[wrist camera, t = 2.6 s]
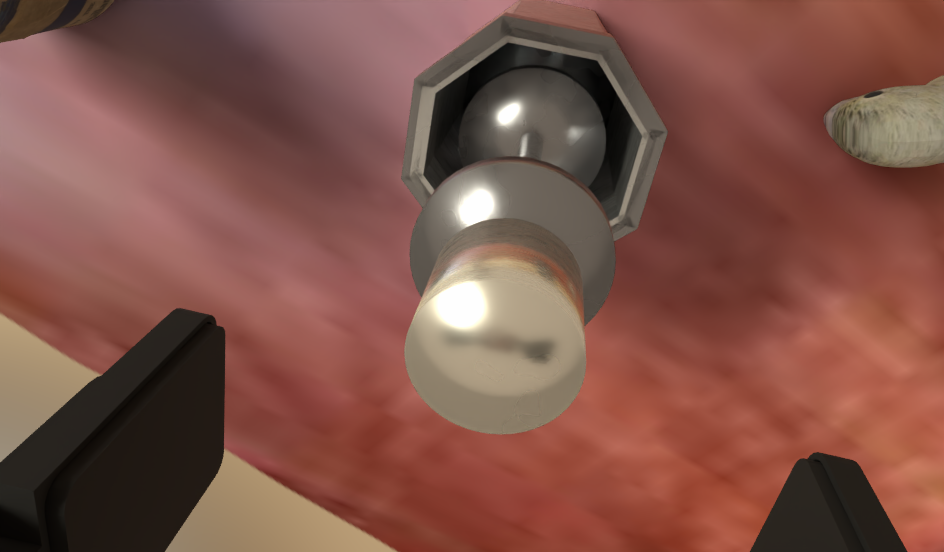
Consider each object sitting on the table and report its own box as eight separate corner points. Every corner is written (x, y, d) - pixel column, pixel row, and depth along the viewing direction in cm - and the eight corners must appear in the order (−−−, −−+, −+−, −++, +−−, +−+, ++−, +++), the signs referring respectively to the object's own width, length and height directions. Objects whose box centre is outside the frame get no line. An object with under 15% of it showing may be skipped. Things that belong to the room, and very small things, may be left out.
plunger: (474, 51, 25) (363, 192, 11) (622, 81, 25) (690, 262, 11) (451, 190, 28) (336, 442, 14) (584, 218, 28) (601, 502, 14)
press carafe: (470, -22, 33) (424, -1, 23) (652, 15, 33) (692, 53, 22) (436, 193, 38) (386, 291, 28) (592, 226, 38) (602, 339, 27)
